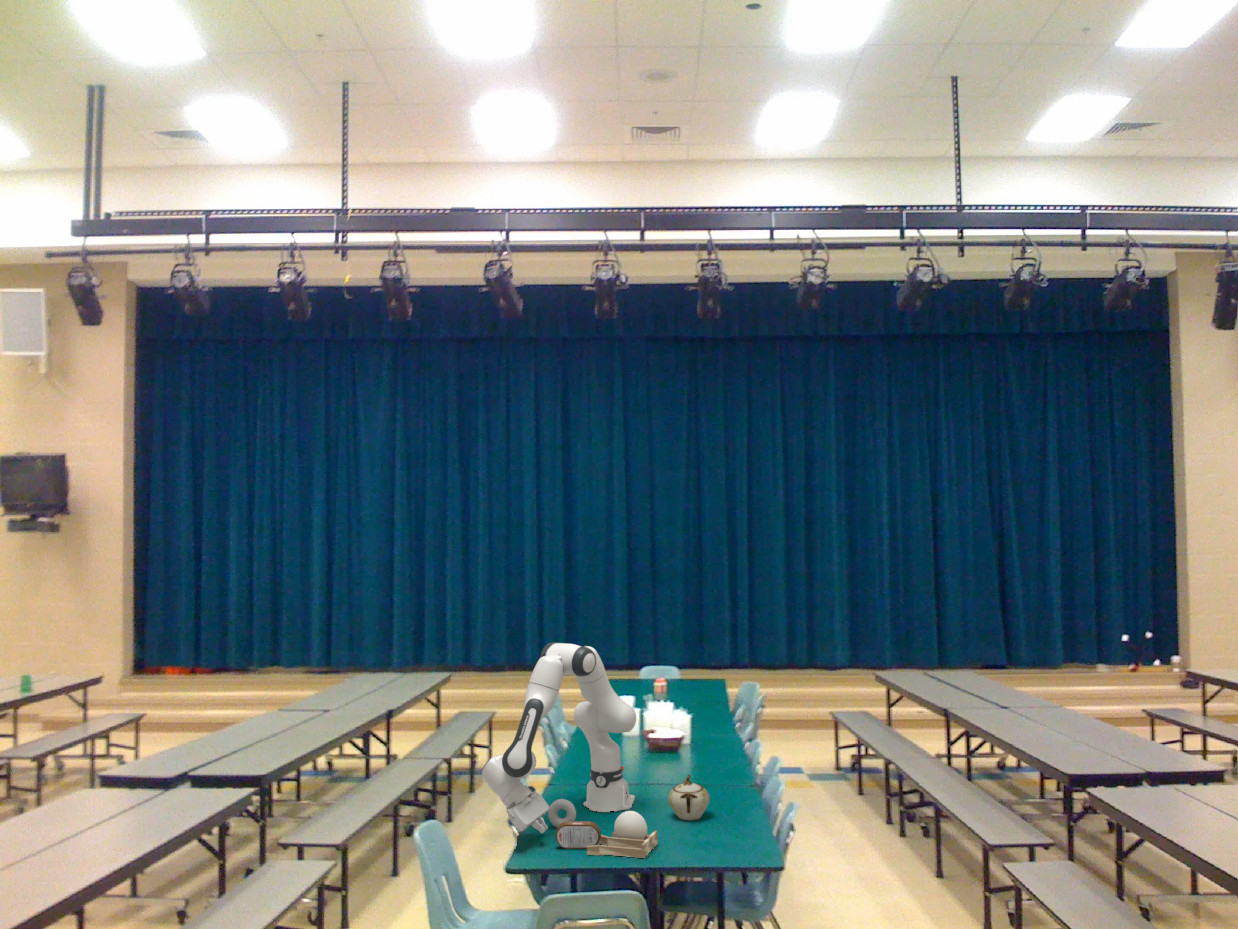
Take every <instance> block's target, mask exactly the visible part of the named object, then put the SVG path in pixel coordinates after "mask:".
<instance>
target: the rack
mask: <svg viewBox="0 0 1238 929" xmlns="http://www.w3.org/2000/svg"><path fill="white" fill-rule="evenodd" d="M658 837H659V836H658V830H653V832H651V833H650V834H647V835H646V837H645V839H644V840H640V839H628V838H617V836H616V834H615V831H613V832H612V836H607V835H604V834H601V838H600V841H599V843H598V844H597V845H591V846H587V849H586V855H594V856H604V855H613V856H612V857H615V856H626V857H636V858H635V859H637V857H638V858H645V857H646V856H647V855H648V853H649V852H651V850H652V849H653V850H654V849H655V848H656V847H657V846H658V845H657V844H659V843H658V841H659V840H658ZM600 844H601V845H600ZM607 845H608V846H607ZM656 845H657V846H656ZM655 846H656V847H655ZM654 847H655V848H654ZM653 850H652V851H653ZM651 853H652V852H651ZM648 856H649V855H648ZM648 856H647V857H648ZM626 857H625V858H626ZM647 857H646V858H647ZM646 858H645V859H646Z"/></svg>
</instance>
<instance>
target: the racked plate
mask: <svg viewBox="0 0 1238 929" xmlns="http://www.w3.org/2000/svg"><path fill="white" fill-rule="evenodd" d="M647 824H648V823H647V822H646V820H645V818H644V817H643V816H642V815H641V814H640V813H639V812H637V811H635V810H625V811H624V812H621V813H620V814H619V815H618V816H617V817H616V819H615V822H614V825H613V826H614V827H613V828H614V829H613V830H614V832H615V834H616V836H617V838H628V839H640V840H644V839H645V837H646V835H648V825H647Z"/></svg>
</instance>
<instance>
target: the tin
mask: <svg viewBox="0 0 1238 929" xmlns="http://www.w3.org/2000/svg"><path fill="white" fill-rule="evenodd" d="M601 835H602V832H601V829H600V827H599V825H598V824H597V823H595V822H593V821H588V820H587V821H586V820H585V821H583V820H579V821H566V822H563V823H561V824H560V825H559V826H558V827H556V829H555V836H554V838H555V842H556V843H557V845H558V846H559V847H560V848H563V849H566V850H574V849H575V850H587V846H591V845H599V844H598V843H599V841H600V838H601Z"/></svg>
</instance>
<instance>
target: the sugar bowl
mask: <svg viewBox="0 0 1238 929" xmlns="http://www.w3.org/2000/svg"><path fill="white" fill-rule="evenodd" d="M690 778H691V775H690V774H687V776H686V779H685V780H684V781H683V782H682V783H680V784H677V785H675V786H673V788H672V789H671V790H670V791H669V793H668V796H667V799H668V800H667V801H668V805H669V806H670V808H671V809H672V811H673V812H674V813H675V814H676V816H677V817H678V818H679V820H683V821H695V820H699V819H700V818H701V817H702V816H703V814H705V811H706V810H707V808H708V806H709V804H710V797H711V796H710V794H709V792H708V791H707V789H705V787H704V786H703V785H701V784H697V783H696V782H695V783H694V782H692V781H691V780H690Z"/></svg>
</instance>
